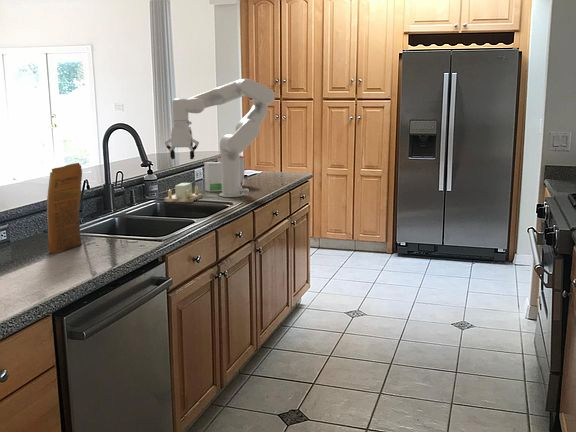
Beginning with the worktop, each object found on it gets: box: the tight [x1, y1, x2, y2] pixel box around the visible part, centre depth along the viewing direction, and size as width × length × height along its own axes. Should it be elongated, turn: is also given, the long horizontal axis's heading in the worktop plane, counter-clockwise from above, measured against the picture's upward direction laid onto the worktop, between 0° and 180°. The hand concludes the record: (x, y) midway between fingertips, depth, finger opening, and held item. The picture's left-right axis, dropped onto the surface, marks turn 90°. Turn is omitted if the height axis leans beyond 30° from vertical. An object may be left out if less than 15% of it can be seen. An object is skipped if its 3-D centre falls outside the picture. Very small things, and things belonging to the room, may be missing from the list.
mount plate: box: [163, 185, 203, 203], centre depth 310 cm, size 14×17×6 cm
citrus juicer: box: [216, 155, 245, 186], centre depth 355 cm, size 16×17×20 cm
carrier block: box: [174, 182, 193, 198], centre depth 310 cm, size 5×10×6 cm, turn 170°
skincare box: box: [204, 161, 222, 193], centre depth 337 cm, size 8×7×16 cm
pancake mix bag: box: [46, 162, 83, 254], centre depth 206 cm, size 7×19×28 cm, turn 162°
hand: (182, 159), depth 307 cm, fingers open, 9 cm apart
